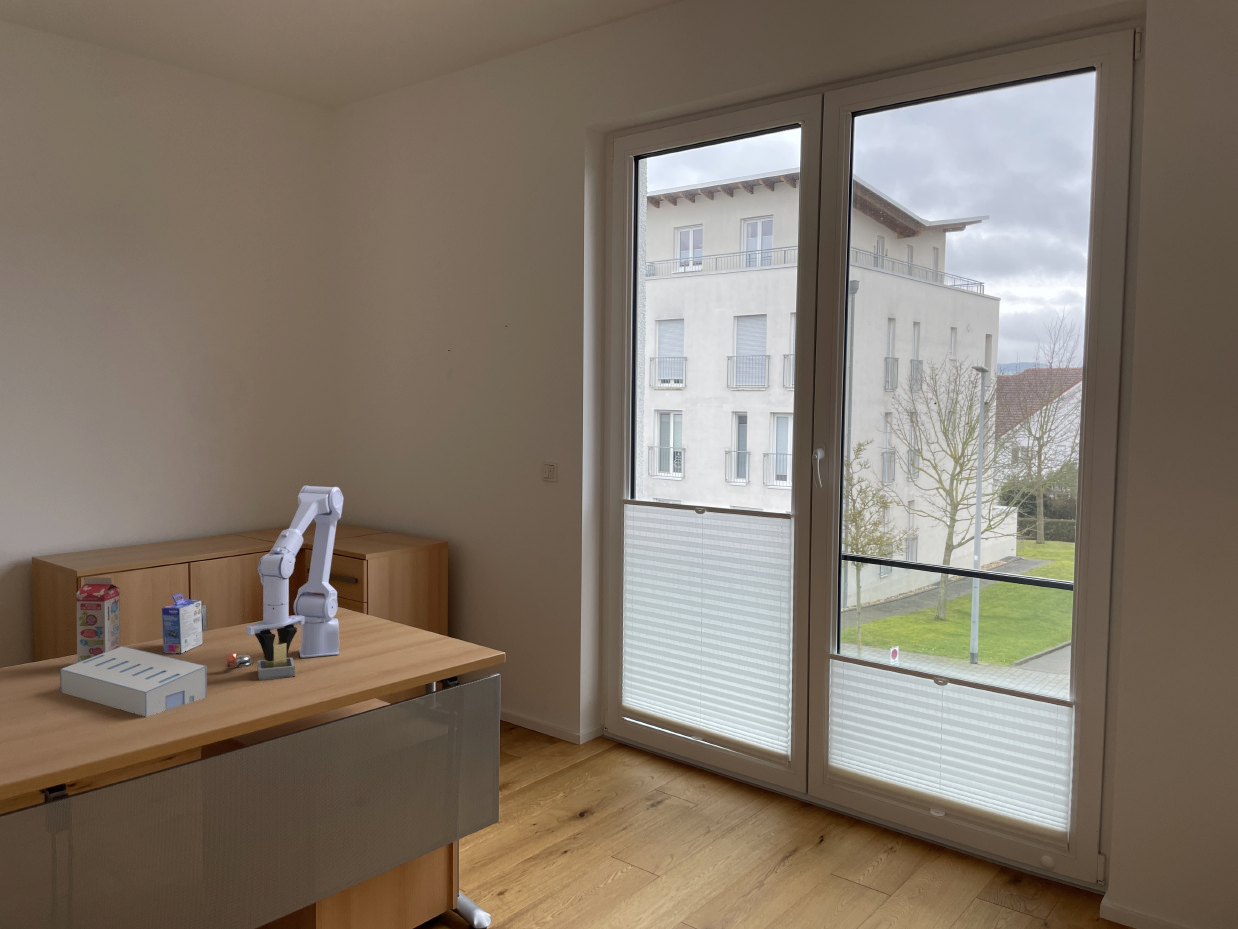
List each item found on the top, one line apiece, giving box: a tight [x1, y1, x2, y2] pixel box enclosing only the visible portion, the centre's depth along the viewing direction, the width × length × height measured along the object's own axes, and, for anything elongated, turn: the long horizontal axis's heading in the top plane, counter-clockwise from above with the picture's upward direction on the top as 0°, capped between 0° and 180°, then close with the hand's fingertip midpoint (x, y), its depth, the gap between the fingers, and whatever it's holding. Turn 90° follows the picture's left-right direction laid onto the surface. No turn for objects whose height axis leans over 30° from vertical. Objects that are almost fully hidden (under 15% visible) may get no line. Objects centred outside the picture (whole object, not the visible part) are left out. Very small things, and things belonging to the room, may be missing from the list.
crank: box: [225, 651, 251, 669], centre depth 214 cm, size 9×4×4 cm, turn 1°
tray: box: [257, 657, 296, 681], centre depth 210 cm, size 8×8×2 cm
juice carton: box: [76, 576, 121, 663], centre depth 212 cm, size 7×7×22 cm
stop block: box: [266, 640, 287, 668], centre depth 210 cm, size 3×3×6 cm
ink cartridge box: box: [161, 593, 203, 655], centre depth 229 cm, size 10×6×14 cm, turn 174°
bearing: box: [236, 659, 254, 668], centre depth 217 cm, size 5×5×1 cm
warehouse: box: [59, 645, 208, 718], centre depth 193 cm, size 30×14×8 cm, turn 63°
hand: (276, 658), depth 210 cm, fingers closed on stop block, 3 cm apart
